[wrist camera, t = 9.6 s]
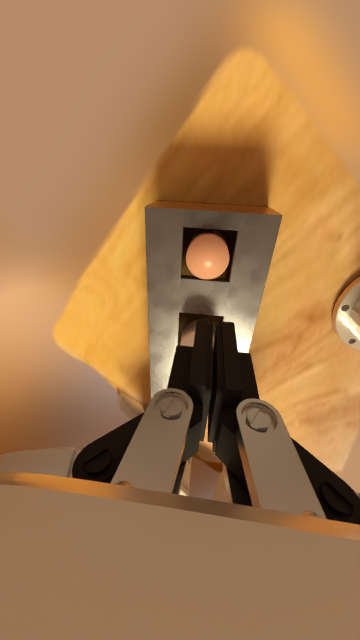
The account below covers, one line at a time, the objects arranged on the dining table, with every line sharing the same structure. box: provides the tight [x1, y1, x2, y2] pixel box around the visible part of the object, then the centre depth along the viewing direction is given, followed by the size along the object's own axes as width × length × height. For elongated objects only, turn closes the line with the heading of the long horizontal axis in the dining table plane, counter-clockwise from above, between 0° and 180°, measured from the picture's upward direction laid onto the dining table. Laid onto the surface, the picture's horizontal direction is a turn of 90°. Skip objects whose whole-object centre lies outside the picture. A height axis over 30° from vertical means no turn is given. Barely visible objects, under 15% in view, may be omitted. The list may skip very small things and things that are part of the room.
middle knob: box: [180, 321, 216, 347], centre depth 26 cm, size 4×4×3 cm
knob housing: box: [145, 201, 282, 399], centre depth 30 cm, size 12×26×6 cm, turn 177°
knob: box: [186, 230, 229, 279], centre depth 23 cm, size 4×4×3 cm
